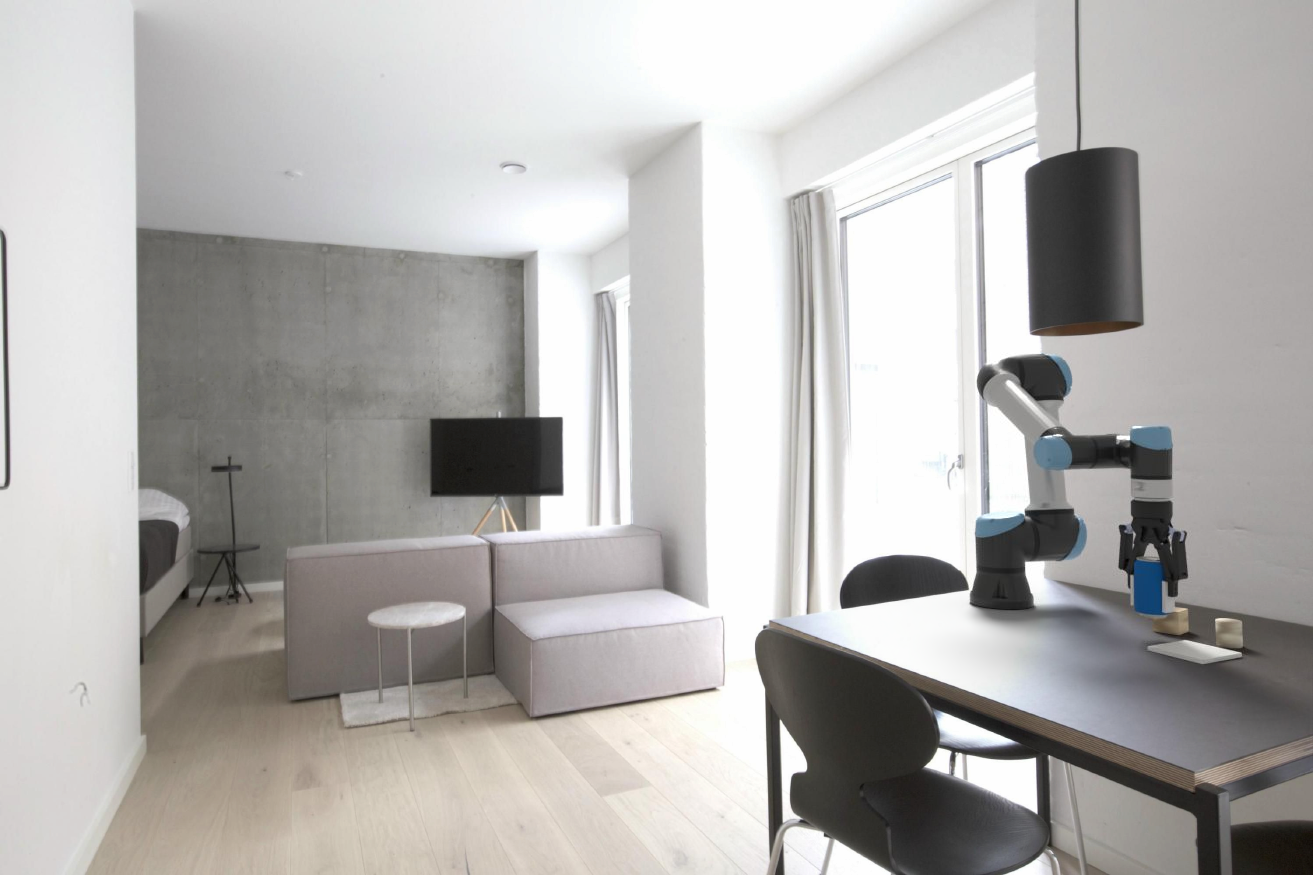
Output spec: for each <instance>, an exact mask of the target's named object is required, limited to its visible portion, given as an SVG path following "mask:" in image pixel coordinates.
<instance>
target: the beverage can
mask: <svg viewBox="0 0 1313 875" xmlns="http://www.w3.org/2000/svg"><path fill="white" fill-rule="evenodd" d="M1136 559H1137V560H1136V561H1135V563H1134V610H1133V611H1134V612H1136V613H1137V614H1138V616H1141V617H1143V618H1150V619H1153V618H1165V617H1166V616H1167V615H1170V613H1171V612H1170V613H1163V612H1162V581H1164V580H1163V579H1166V578H1165V575H1164V571H1163V568H1162V565H1161V562H1160V559H1159V556H1151V555H1150V556H1149V555H1148V556H1147V555H1146V556H1145V555H1144V556H1141V557H1137V558H1136Z"/></svg>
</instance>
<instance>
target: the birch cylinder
mask: <svg viewBox="0 0 1313 875" xmlns="http://www.w3.org/2000/svg"><path fill="white" fill-rule="evenodd" d="M1214 620H1215V625H1214V626H1215V644H1216V646H1217V647H1220V648H1225V649H1227V648H1228V649H1242V648H1244V643H1243V642H1244V641H1243V637H1244V636H1243V621H1242V620H1239V619H1235V618H1226V617H1225V618H1222V617H1221V618H1215V619H1214Z"/></svg>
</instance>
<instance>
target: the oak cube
mask: <svg viewBox="0 0 1313 875" xmlns="http://www.w3.org/2000/svg"><path fill="white" fill-rule="evenodd" d="M1152 629H1153V630H1152V631H1153V632H1157V633H1165V634H1170V635H1175V636H1180V635H1183V634H1185V633H1188V632H1189V631H1190V630H1189V629H1190V628H1189V609H1188V608H1185V607H1177V606H1175V612H1171V613H1170V615H1167V616H1166V617H1165V618H1152Z"/></svg>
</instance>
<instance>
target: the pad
mask: <svg viewBox="0 0 1313 875" xmlns="http://www.w3.org/2000/svg"><path fill="white" fill-rule="evenodd" d="M1147 651H1150V652H1153V653H1156V654H1160V655H1165V656H1168V657H1169V656H1170V657H1173V658H1176V659H1180V660H1185V661H1188V662H1191V663H1197V664H1200V665H1205V664H1206V665H1207V664H1212V663H1217V662H1222V661H1227V660H1233V659H1239V658H1242V657H1243V656H1242V655H1243V653H1242V652H1240V651H1235V650H1232V649H1231V650H1230V649H1227V648H1224V647H1219V646H1212V645H1209V644H1204V643H1200V642H1195V641H1191V640H1187V639H1183V640H1179V641H1177V640H1176V641H1171V642H1165V643H1161V644H1160V643H1159V644H1153V645H1148V646H1147Z"/></svg>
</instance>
